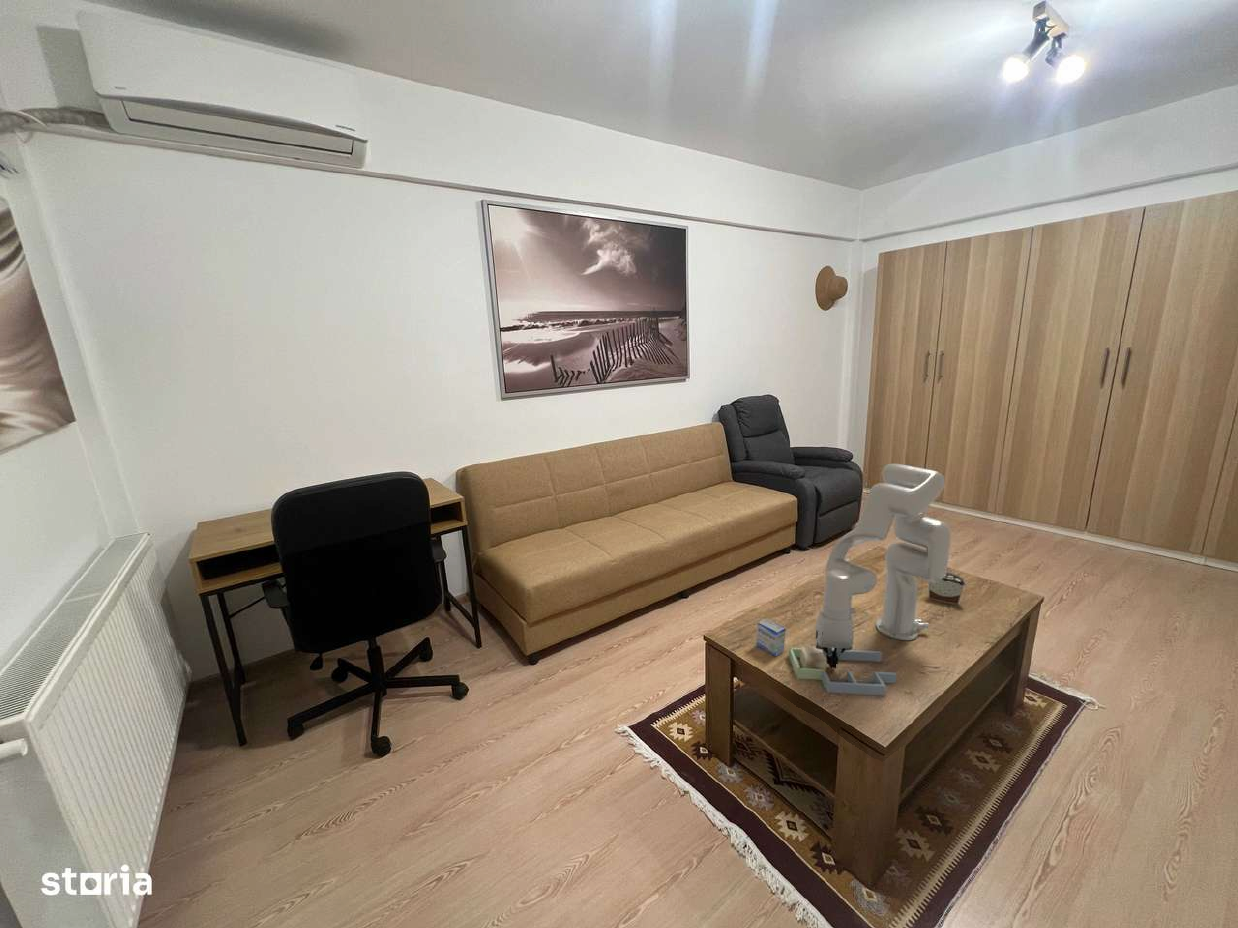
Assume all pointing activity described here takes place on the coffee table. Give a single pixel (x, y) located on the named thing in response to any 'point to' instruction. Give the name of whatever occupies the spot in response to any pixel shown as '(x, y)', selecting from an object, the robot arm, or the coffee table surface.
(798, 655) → the tray
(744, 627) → the coffee table surface
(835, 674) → the coffee table surface
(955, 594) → the food container
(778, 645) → the medicine box
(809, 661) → the birch block
